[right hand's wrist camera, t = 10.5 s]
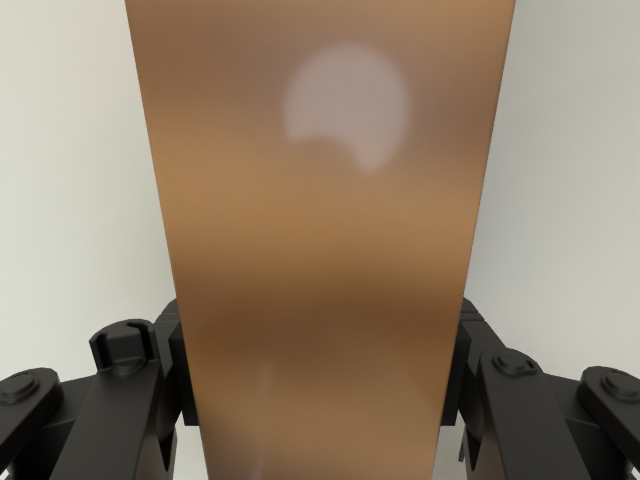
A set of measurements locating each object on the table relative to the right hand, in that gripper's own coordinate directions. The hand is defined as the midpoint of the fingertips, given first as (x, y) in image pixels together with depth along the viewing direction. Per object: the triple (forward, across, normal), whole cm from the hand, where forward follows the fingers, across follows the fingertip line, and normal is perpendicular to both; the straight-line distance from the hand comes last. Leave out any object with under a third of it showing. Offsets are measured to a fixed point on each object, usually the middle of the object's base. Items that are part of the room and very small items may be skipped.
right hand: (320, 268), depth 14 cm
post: (+1, 0, -24) cm, 24 cm away
